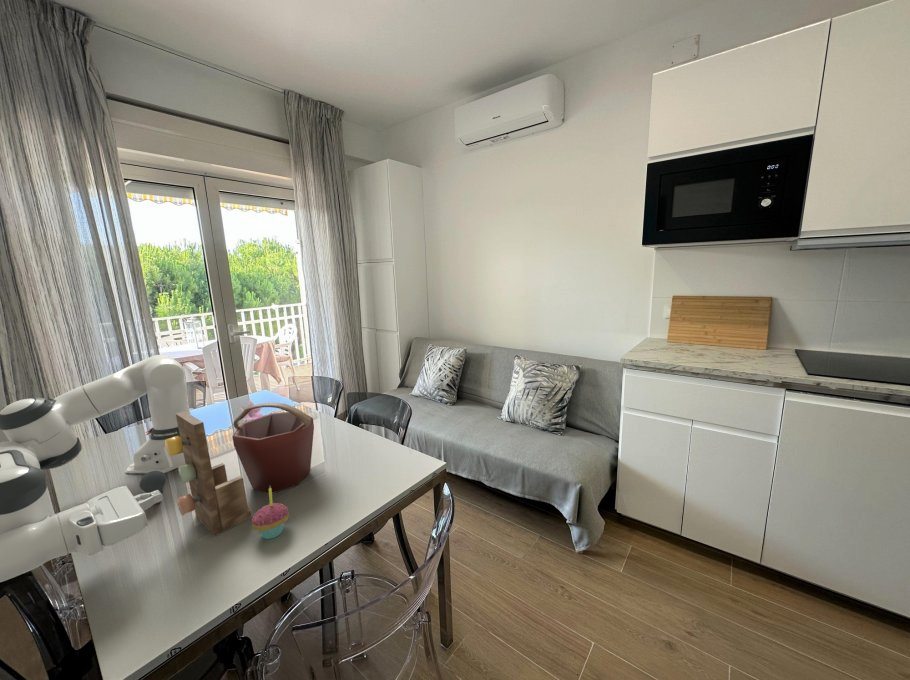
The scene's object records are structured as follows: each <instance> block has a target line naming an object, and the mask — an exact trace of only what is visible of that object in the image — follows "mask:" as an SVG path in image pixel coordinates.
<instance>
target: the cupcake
mask: <svg viewBox="0 0 910 680" xmlns="http://www.w3.org/2000/svg"><path fill="white" fill-rule="evenodd" d="M268 497H269V498H268V499H269V504H267V505H263V506H262V507H260V508H258V510H257V511H255V513H254V514H253V516H252V517H251V526H252V527H251V528H252V530H254V531H257V532H259V534H260V535H261V536H262V538H263V539H266V540H270V539H274V538H276V537H278V536H279V535H281V534H282V532H283V531H284V526H285V523H286V521H287V520H288V519H289V516H290V515H289V514H290V513H289V510H288V509H289V507H287V506H286V505H285V504H283V503H280V502H273V493H272V489H271V487H270V489H269V493H268Z"/></svg>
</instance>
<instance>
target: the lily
mask: <svg viewBox="0 0 910 680" xmlns="http://www.w3.org/2000/svg"><path fill="white" fill-rule="evenodd" d="M253 405H255V404H254V402H253V401H252V400H250V399H249V400H248V403H247V407H245V406H239V408H240V410H241V411H242V412H243V411H244V409H246V408H248V407H250V406H253ZM261 411H262V408H256V409H252V410H250V412H249V413H248V414H247V415H246V416H245V417H244V418H243V419H241V420H242V421H245V422H248V421H251V420H253V419H256V418H259V417H262V416H264V415H263V414H262V413H261Z"/></svg>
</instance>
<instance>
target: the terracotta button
mask: <svg viewBox="0 0 910 680" xmlns="http://www.w3.org/2000/svg"><path fill="white" fill-rule="evenodd" d="M200 500H201V497H200V496H198V497H196V498H192V494H191V493H187V494H185V495H183V496H179V497H178V498H176V504H177V507H178V511H179V512H180V514H181V516H184V515H186V514H189V513H191V512H193V511H195V505H194V503H196V502H198V501H200Z"/></svg>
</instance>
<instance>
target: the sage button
mask: <svg viewBox="0 0 910 680" xmlns="http://www.w3.org/2000/svg"><path fill="white" fill-rule="evenodd" d="M177 470H178V474H179V477H180V480H181V482H182V483H183V484H186V483H189V481H192V480H194V479H196V471H195V468H194V466H193V464H192V463H188V464H185V465H182V466H180V467H179V468H177Z"/></svg>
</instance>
